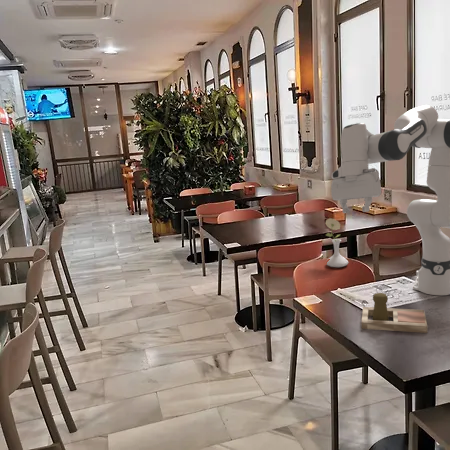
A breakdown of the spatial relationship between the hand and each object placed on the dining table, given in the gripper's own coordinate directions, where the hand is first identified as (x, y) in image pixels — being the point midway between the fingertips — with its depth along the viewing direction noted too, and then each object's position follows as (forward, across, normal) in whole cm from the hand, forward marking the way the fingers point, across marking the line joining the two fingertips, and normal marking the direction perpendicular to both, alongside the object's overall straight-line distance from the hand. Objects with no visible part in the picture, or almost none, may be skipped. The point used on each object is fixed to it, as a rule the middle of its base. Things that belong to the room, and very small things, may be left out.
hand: (355, 212), depth 152 cm
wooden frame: (+40, +6, -23) cm, 47 cm away
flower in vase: (+25, +69, -51) cm, 89 cm away
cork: (+41, +10, -20) cm, 47 cm away
